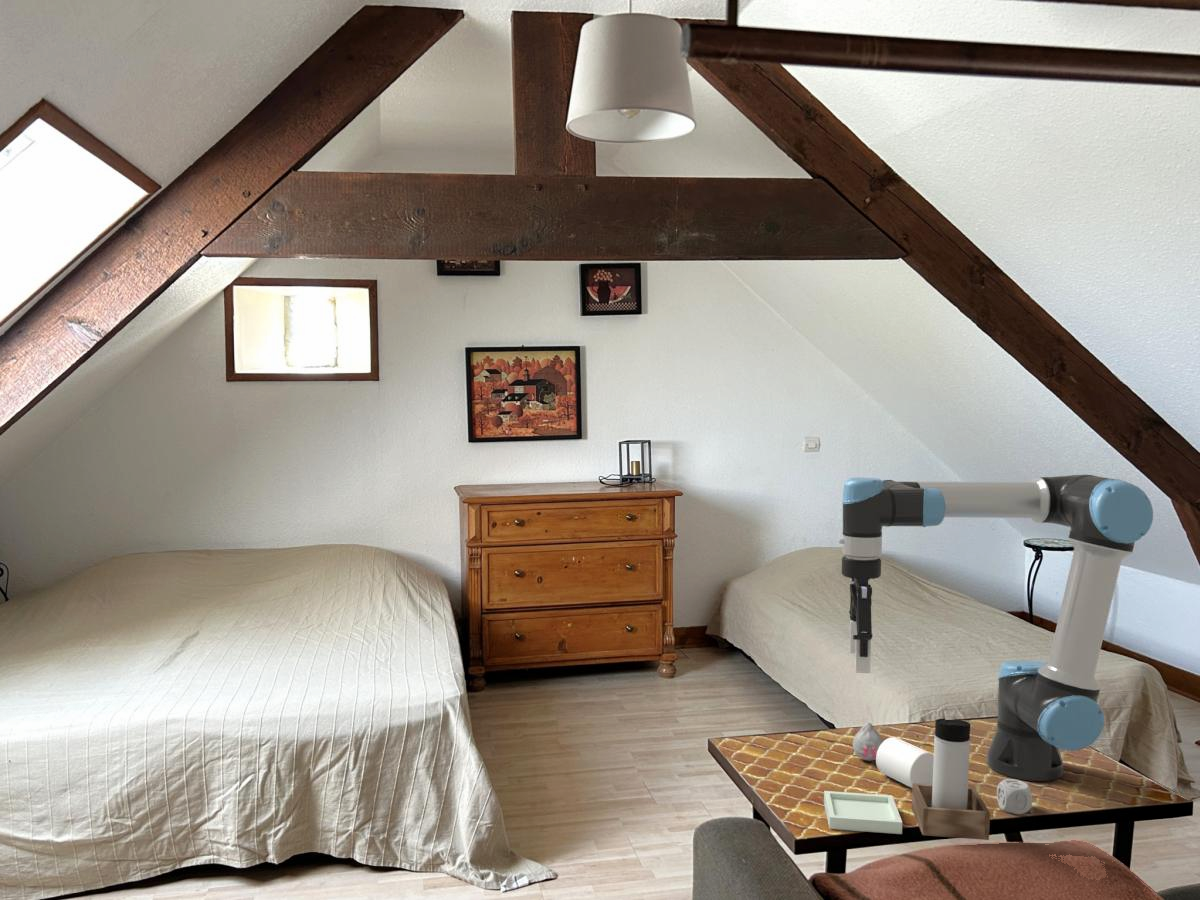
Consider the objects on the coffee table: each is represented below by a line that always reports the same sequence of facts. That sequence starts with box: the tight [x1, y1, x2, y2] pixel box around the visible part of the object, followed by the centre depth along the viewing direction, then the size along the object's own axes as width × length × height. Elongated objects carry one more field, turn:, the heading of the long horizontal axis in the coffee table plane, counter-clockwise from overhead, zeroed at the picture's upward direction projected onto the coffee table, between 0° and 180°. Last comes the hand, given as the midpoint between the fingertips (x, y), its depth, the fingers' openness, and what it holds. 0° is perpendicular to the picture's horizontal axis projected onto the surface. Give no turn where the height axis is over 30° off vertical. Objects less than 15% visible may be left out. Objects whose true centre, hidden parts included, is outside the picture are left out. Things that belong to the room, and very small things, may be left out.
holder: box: [911, 783, 991, 841], centre depth 187 cm, size 12×12×5 cm
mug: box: [875, 736, 934, 789], centre depth 207 cm, size 12×10×8 cm
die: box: [996, 778, 1033, 815], centre depth 194 cm, size 5×5×5 cm
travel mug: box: [932, 718, 971, 810], centre depth 187 cm, size 6×7×20 cm
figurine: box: [852, 722, 884, 762], centre depth 218 cm, size 6×7×8 cm
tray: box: [823, 790, 903, 835], centre depth 189 cm, size 13×12×2 cm
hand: (859, 662), depth 198 cm, fingers open, 13 cm apart
